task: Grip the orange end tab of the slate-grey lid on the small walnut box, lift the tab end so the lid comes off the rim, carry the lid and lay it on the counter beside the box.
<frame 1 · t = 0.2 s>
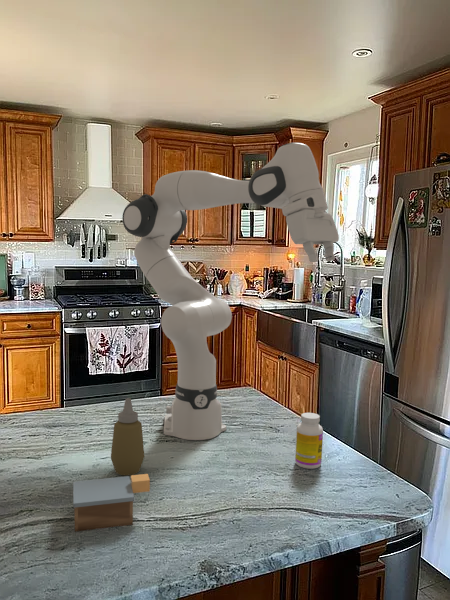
hand: (322, 261, 128), 52 cm above the countertop, tool tilted 20°, fingers open, 8 cm apart
squeeze bottle: (127, 471, 127), on the countertop
walnut box: (102, 516, 106), on the countertop
supplement bottle: (308, 464, 134), on the countertop
lid: (102, 492, 106), point 5 cm above the countertop, touching walnut box
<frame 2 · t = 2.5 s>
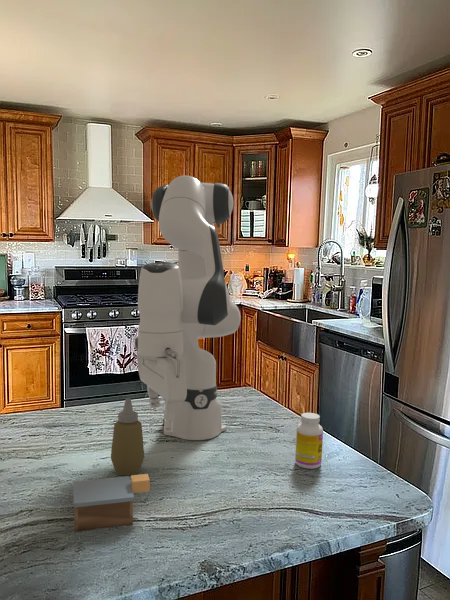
hand: (161, 413, 105), 21 cm above the countertop, tool pointing down, fingers open, 8 cm apart
nothing on the countertop moved.
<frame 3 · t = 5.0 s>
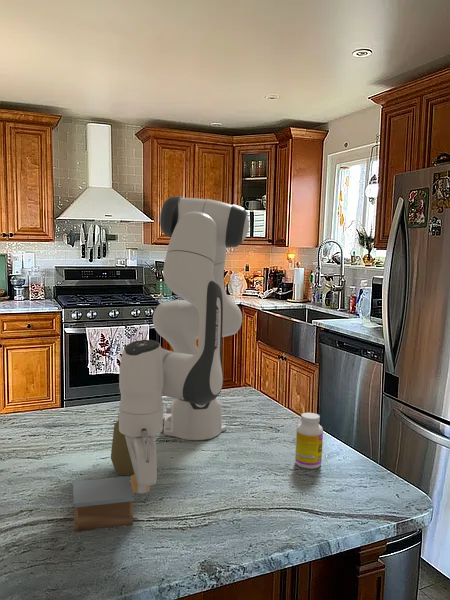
hand: (140, 486, 108), 5 cm above the countertop, tool pointing down, fingers closed on lid, 3 cm apart
lid: (102, 492, 106), point 5 cm above the countertop, touching gripper, walnut box
everything else where it was.
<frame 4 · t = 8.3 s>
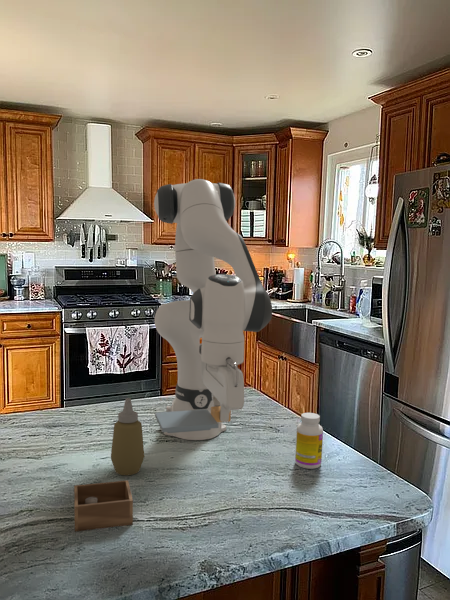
hand: (220, 417, 111), 19 cm above the countertop, tool pointing down, fingers closed on lid, 3 cm apart
lid: (185, 421, 109), point 19 cm above the countertop, touching gripper
everything else where it was.
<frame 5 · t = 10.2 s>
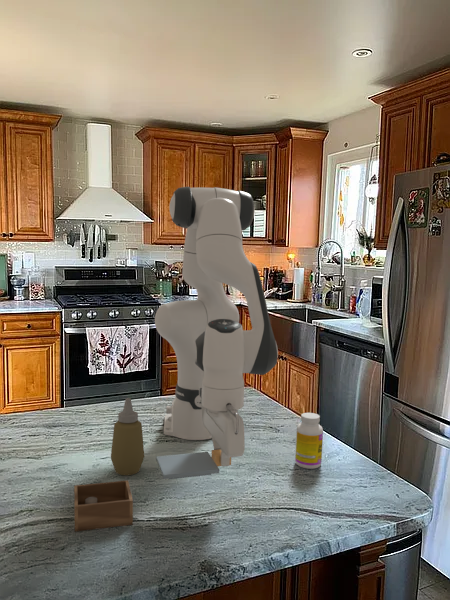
hand: (221, 460, 112), 10 cm above the countertop, tool pointing down, fingers closed on lid, 3 cm apart
lid: (186, 466, 110), point 9 cm above the countertop, touching gripper
everything else where it was.
when the fingers open (2 cm above the countertop, at t = 11.9 s): lid stays where it is, point 1 cm above the countertop.
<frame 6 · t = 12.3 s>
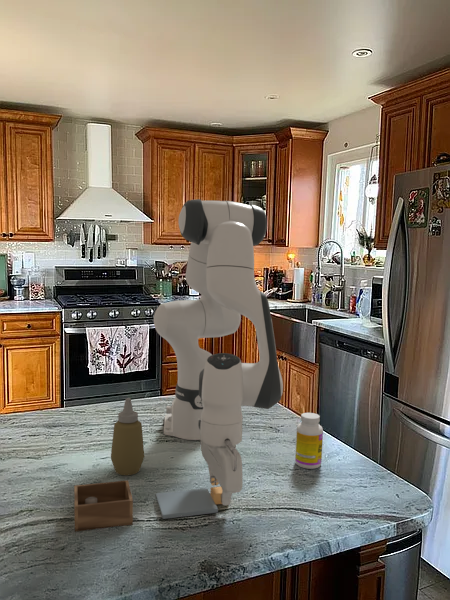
hand: (219, 493, 113), 2 cm above the countertop, tool pointing down, fingers open, 8 cm apart
lid: (185, 504, 111), point 1 cm above the countertop
everything else where it was.
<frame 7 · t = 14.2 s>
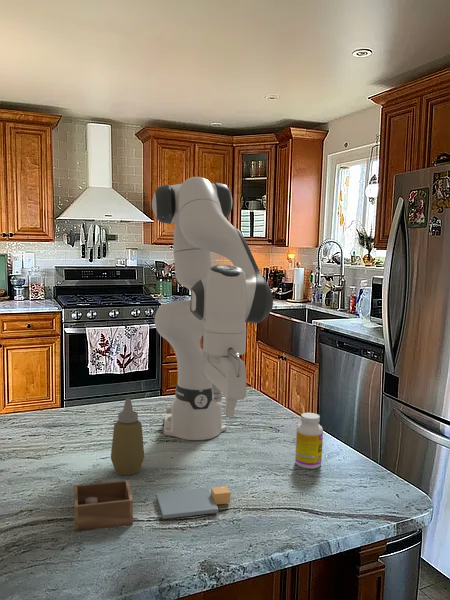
hand: (222, 408, 111), 21 cm above the countertop, tool pointing down, fingers open, 8 cm apart
nothing on the countertop moved.
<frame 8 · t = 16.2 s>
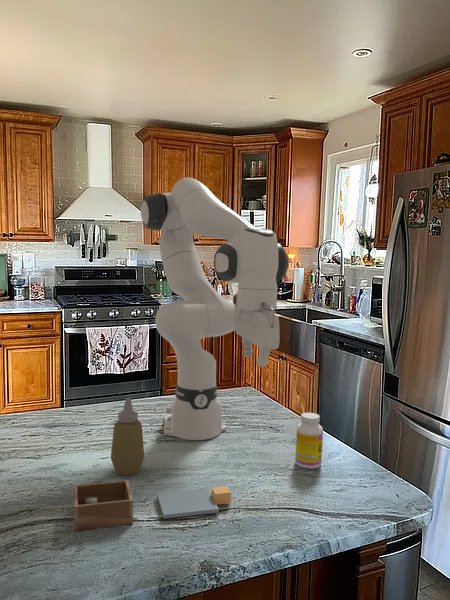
hand: (254, 361, 119), 29 cm above the countertop, tool pointing down, fingers open, 8 cm apart
nothing on the countertop moved.
at the end: lid inside the target area (0.3 cm from its centre), point 0.5 cm above the countertop; lid touching countertop; the gripper is holding nothing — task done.
